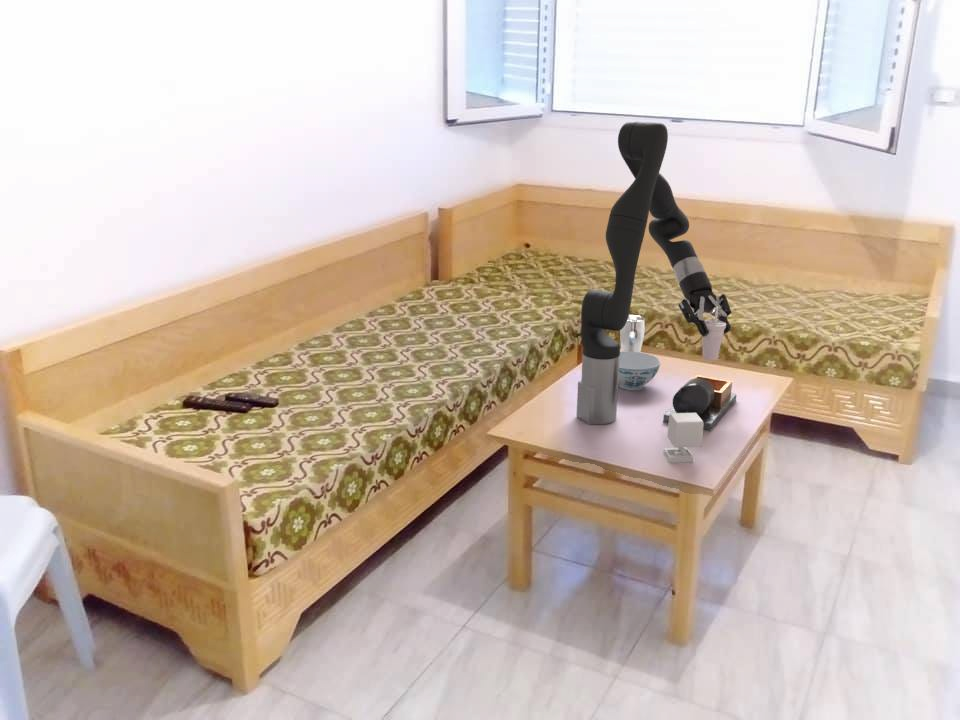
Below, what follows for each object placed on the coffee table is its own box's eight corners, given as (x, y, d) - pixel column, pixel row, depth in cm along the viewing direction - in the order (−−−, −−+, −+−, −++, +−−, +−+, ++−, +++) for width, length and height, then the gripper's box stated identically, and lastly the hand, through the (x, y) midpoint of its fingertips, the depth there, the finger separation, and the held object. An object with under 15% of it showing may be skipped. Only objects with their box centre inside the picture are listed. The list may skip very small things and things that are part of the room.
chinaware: (598, 391, 248) (599, 364, 246) (612, 374, 261) (613, 348, 259) (652, 398, 243) (653, 372, 240) (663, 381, 256) (665, 355, 253)
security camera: (700, 462, 205) (704, 422, 202) (670, 463, 205) (673, 423, 201) (692, 451, 211) (695, 411, 208) (662, 452, 211) (665, 412, 207)
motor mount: (710, 431, 222) (713, 393, 219) (663, 421, 228) (666, 384, 224) (735, 400, 242) (739, 365, 239) (692, 392, 247) (695, 358, 244)
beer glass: (636, 371, 263) (639, 322, 258) (614, 367, 267) (617, 318, 262) (645, 365, 269) (648, 317, 264) (623, 361, 272) (626, 313, 267)
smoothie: (716, 364, 231) (721, 311, 226) (693, 359, 234) (697, 307, 230) (726, 357, 235) (731, 306, 231) (703, 352, 239) (708, 301, 234)
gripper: (676, 273, 231) (701, 329, 225) (721, 267, 237) (747, 323, 231) (662, 288, 237) (686, 343, 231) (706, 282, 243) (731, 337, 237)
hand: (716, 333), depth 231 cm, fingers closed on smoothie, 6 cm apart
